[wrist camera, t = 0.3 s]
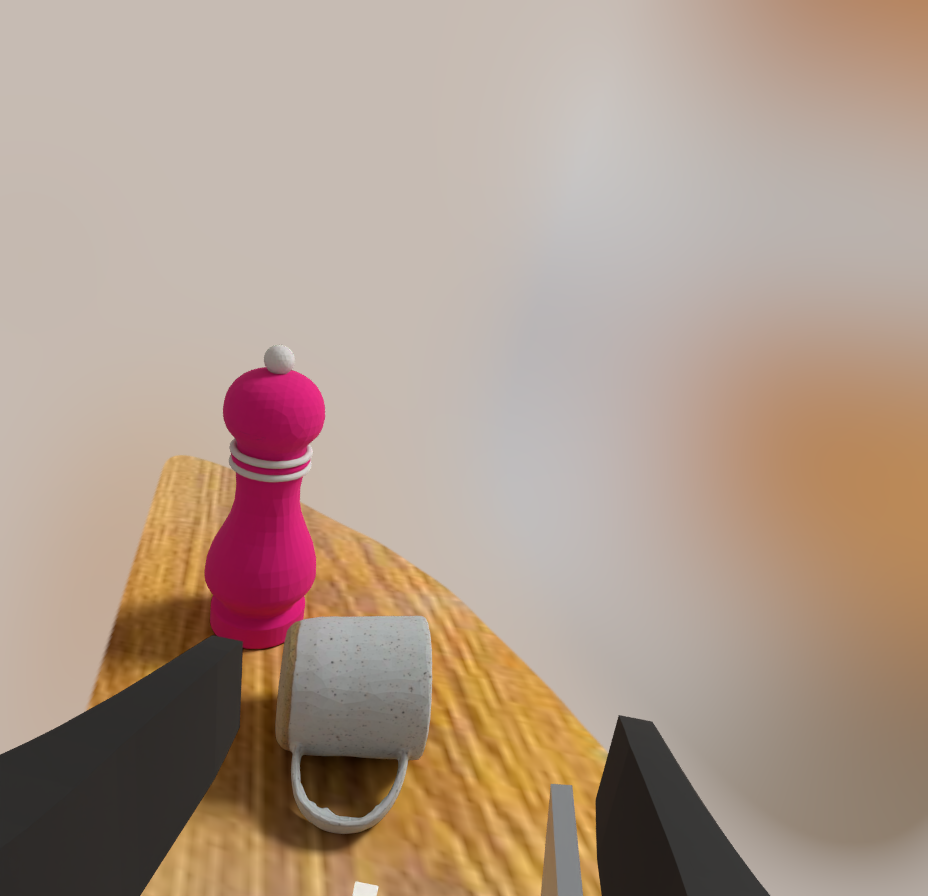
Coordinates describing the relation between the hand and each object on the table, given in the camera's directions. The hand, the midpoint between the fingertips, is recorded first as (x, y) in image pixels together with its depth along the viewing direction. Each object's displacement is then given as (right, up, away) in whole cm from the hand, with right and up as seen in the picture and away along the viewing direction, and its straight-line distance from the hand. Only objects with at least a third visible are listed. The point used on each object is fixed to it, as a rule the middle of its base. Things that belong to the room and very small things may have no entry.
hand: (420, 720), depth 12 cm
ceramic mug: (-6, -12, +25) cm, 28 cm away
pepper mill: (-14, -7, +33) cm, 37 cm away
